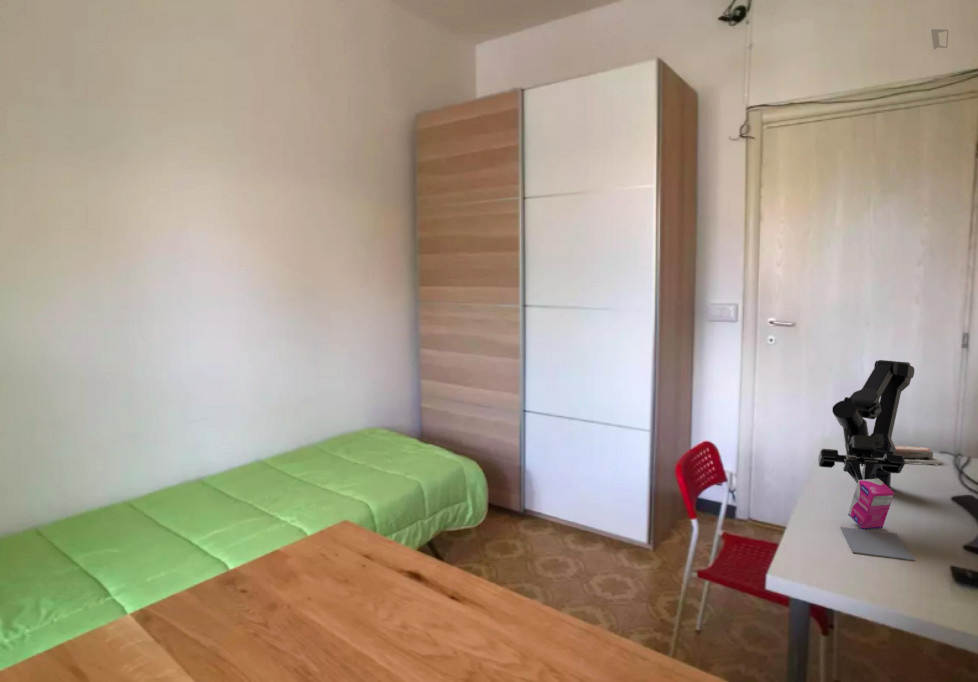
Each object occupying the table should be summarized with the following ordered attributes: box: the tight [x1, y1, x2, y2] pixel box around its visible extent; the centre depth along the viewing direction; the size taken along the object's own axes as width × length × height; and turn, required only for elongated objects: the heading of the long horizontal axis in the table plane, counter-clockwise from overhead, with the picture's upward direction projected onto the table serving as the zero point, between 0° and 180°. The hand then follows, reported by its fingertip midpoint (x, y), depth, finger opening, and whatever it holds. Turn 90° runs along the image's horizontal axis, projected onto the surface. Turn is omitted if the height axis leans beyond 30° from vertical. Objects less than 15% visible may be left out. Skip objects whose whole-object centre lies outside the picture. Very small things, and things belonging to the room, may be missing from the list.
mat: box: [840, 526, 916, 562], centre depth 138 cm, size 14×12×1 cm
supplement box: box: [847, 478, 895, 530], centre depth 146 cm, size 6×6×12 cm
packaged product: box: [894, 445, 941, 465], centre depth 197 cm, size 18×5×10 cm
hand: (864, 490), depth 148 cm, fingers closed
